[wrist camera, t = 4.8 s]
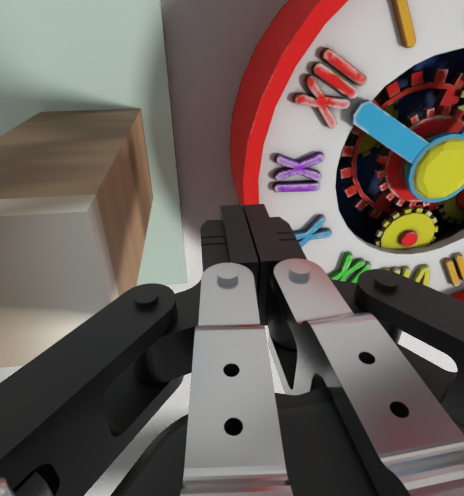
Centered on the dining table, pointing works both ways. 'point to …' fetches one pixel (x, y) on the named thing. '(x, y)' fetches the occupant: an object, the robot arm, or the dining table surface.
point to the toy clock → (360, 135)
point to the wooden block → (68, 222)
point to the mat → (99, 92)
